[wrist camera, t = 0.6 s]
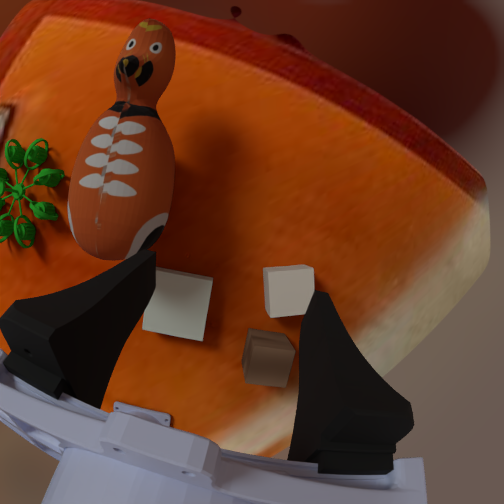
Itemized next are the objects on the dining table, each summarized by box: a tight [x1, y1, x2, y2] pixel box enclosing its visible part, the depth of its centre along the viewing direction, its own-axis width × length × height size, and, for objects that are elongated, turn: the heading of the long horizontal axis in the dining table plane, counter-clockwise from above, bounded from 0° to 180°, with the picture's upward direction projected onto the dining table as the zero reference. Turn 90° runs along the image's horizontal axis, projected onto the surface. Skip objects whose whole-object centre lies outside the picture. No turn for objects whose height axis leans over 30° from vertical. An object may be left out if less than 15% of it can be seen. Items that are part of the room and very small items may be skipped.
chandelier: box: [0, 138, 65, 248], centre depth 30 cm, size 15×15×7 cm
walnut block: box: [242, 328, 296, 388], centre depth 35 cm, size 4×4×6 cm
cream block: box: [263, 265, 314, 318], centre depth 35 cm, size 5×5×4 cm
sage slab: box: [142, 267, 213, 341], centre depth 35 cm, size 7×7×3 cm
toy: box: [68, 19, 175, 260], centre depth 27 cm, size 10×23×15 cm, turn 171°
